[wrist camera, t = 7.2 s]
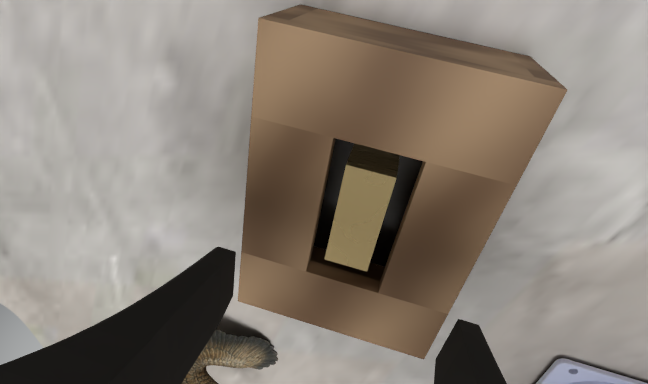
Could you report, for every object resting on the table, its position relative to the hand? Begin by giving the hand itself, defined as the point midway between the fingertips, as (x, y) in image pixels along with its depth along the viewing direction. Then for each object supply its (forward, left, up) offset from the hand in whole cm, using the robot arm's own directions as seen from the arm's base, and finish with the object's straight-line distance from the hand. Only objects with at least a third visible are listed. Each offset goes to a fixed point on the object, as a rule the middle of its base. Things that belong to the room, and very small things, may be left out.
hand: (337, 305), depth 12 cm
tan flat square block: (0, 0, -10) cm, 10 cm away
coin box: (0, 0, -10) cm, 10 cm away
